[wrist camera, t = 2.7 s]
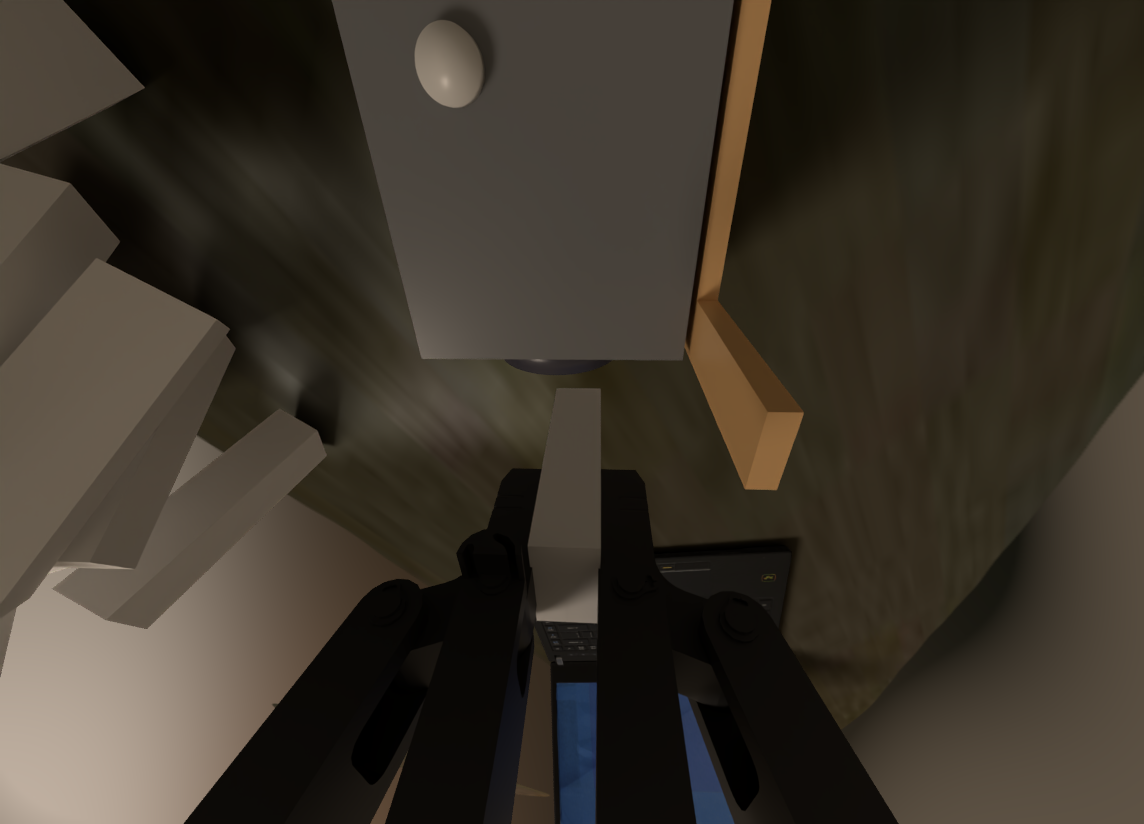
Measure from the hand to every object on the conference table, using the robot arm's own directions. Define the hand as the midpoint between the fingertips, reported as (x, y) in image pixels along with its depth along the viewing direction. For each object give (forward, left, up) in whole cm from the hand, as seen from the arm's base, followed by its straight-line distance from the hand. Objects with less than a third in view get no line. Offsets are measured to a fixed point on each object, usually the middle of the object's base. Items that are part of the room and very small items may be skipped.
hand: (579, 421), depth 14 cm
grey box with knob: (-7, -2, -20) cm, 21 cm away
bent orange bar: (-7, +6, -19) cm, 21 cm away
